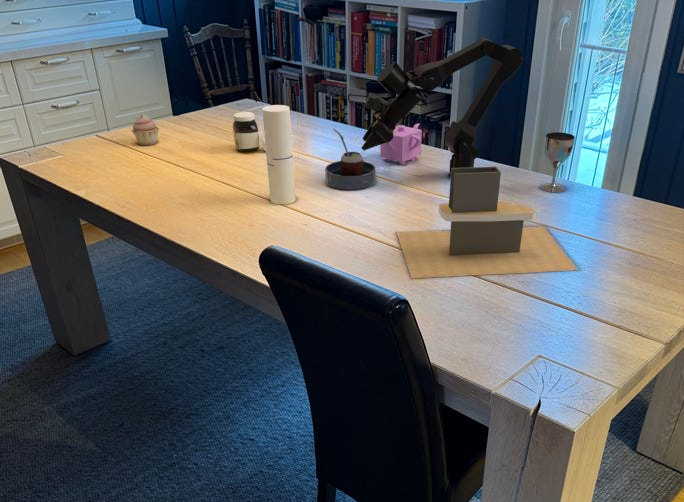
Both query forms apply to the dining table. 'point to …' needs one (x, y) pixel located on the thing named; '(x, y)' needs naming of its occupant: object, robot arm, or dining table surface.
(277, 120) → the cylindrical container
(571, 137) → the metal goblet
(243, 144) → the spread jar
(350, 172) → the mate gourd
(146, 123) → the cupcake
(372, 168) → the large metal bowl
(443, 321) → the dining table surface
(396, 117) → the robot arm
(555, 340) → the dining table surface
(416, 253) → the architectural model
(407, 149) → the teapot
